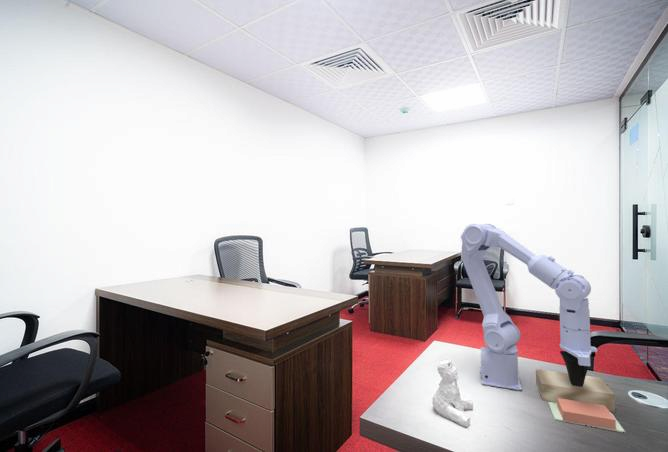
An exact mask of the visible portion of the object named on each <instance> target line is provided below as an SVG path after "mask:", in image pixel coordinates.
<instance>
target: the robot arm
mask: <svg viewBox="0 0 668 452" xmlns="http://www.w3.org/2000/svg"><path fill="white" fill-rule="evenodd" d="M460 239H461V256H460V257H461V261H462V263H463V266H464V269H465V272H466V274H467V276H468V278H469V282H470V285H471V286H472V290H473V292H474V295H475V297H476V300H477V302H478V305H479V307H480V310H481V312H482V315H483V320H482V325H481V326H482V329H483V341H484V344H485V346H481V347H480V366H479V375H481V377H480V379H481V384H482V385H484V386H491V387H496V388H497V387H498V388H504V389H508V390H509V389H510V390H516V391H522V390H523V388H522V384H521V380H520V378H519V365H518V364H519V361H518V360H519V359H518V357H519V356H518V353H519V351H518V347H517V344H518V342H519V341H520V339H521V332H520V329H519V328H518V327H517V325H515V324H514V322H513V320H512V318H511V317H510V315H509V314H507V313H506V312H505V310H504V309H503V306H502V303H501V301H500V299H499V296H498V293H497V292H496V289H495V287H494V284H493V282H492V278H491V276H490V275H489V271H488V268H487V266H486V264H485V262H484V259H483V258H484V256H485V254H486V253H487V251H488V250H489V249H490V248H491V247H492V248H500V249H501V250H503V251H505V252H506V253H507V254H509V255H511V256H512V257H514V258H516V259H517V260H519V261H520V262H522V263H523V264H524V265H526V266H527V269H528V274H529V273H530V274H531V275H532V276H534V277H535V278H537V279H538V280H539V281H541V282H542V283H544V285H546V286H548V287H549V288H550V289H552V290H554V293H555V294H556V296H557V297H558V298H559V309H558V310H559V335H560V336H559V337H560V342H559V348H560V349H561V350H560V351H559V353H560V355H561V357H562V359H563V362H564V364H565V367H566V370H567V371H566V373H568V376H569V380H570V382H571V384H572V385H573V386H579V387H583V384H584V381H585V376H587V372H588V371H589V368H590V367H591V366H592V365H593V363H594V362H593V359H592V358H591V355H592V353H598V348H597V347H595V346H592V345H591V320H590V319H591V317H590V315H591V314H590V308H589V306H590V305H589V304H590V303H589V298H588V297H589V295H590V294H591V290H592V286H591V284H590V282H589V281H588V280H587V279H586V278H585V277H584V276H582V275H580V274H575V272H574V271H573V270H572V269H569V270H568V269H567V268H566V267H564V266H562V265H560V264H559V263H558V262H556V258H555V257H554V256H552V255H551V256H550V255H549V256H547V255H545V254H539V255H536V254H535V253H533V252H532V251H531V250H530V249H529V248H527V247H525V246H524V245H522V244H521V243H520V242H519V241H517V240H516V239H515V238H513V237H512V236H510V235H509V234H507V233H506V232H505V231H504V230H503V229H500V228H498V227H497V226H495V225H493V224H491V223H484V224H480V223H479V224H478V223H471V224H469V225H467V226H466V227H465V228H464V230H463V232H462V233H461V235H460Z"/></svg>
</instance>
